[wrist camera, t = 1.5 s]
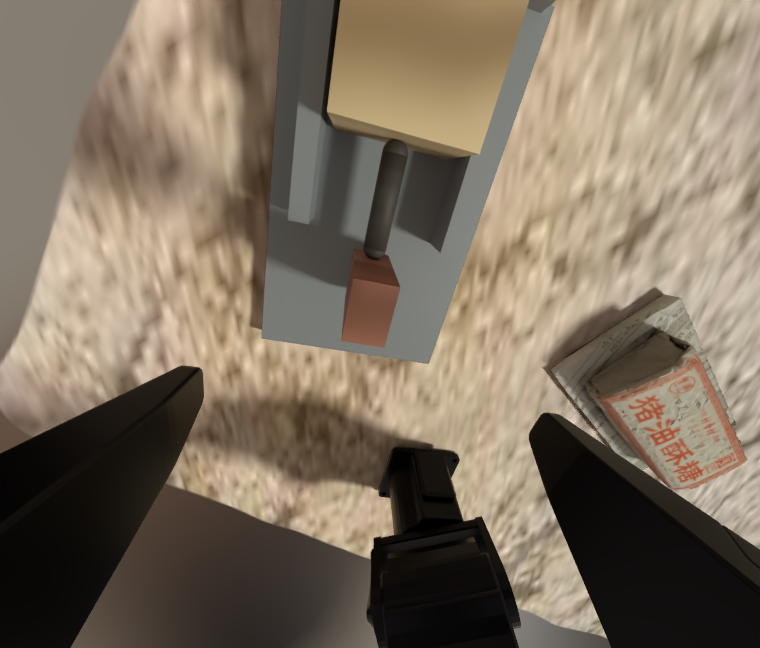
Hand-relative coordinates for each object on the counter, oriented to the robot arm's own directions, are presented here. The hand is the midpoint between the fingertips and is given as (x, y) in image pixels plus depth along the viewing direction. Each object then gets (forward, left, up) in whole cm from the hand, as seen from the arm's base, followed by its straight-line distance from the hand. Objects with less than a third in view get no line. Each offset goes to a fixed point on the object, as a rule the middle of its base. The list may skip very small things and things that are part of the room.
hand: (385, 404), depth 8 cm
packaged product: (-7, -26, -14) cm, 31 cm away
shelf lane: (+4, 0, -13) cm, 14 cm away
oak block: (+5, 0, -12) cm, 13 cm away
